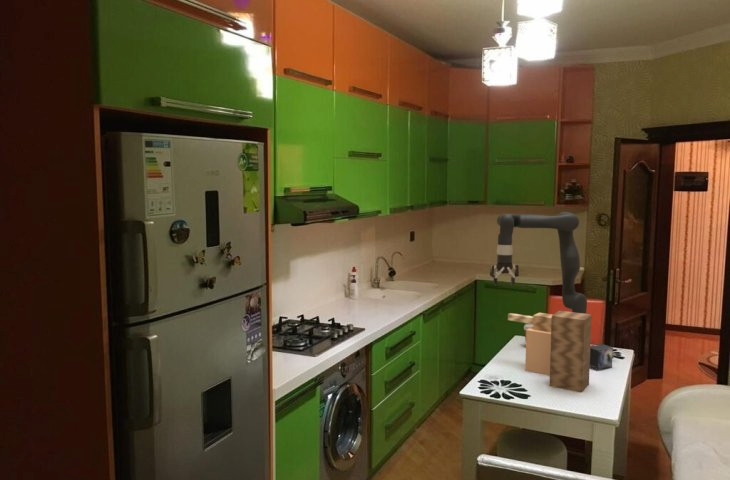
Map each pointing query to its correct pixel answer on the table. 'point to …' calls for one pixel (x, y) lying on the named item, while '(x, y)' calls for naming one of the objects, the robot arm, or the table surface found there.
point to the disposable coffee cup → (527, 328)
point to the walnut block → (570, 350)
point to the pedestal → (538, 351)
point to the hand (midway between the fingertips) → (504, 285)
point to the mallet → (534, 320)
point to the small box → (601, 357)
